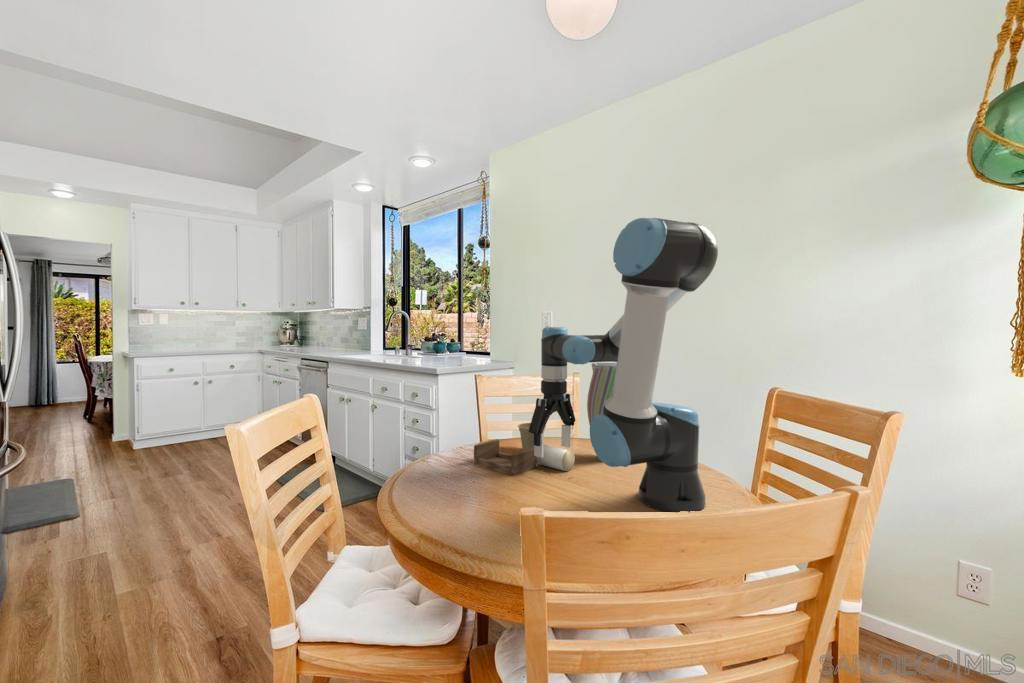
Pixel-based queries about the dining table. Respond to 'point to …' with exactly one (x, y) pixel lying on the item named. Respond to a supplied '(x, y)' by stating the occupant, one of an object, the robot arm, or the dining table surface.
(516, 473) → the cradle
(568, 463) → the roll
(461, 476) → the dining table surface
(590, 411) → the vase
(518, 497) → the dining table surface
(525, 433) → the flower pot
